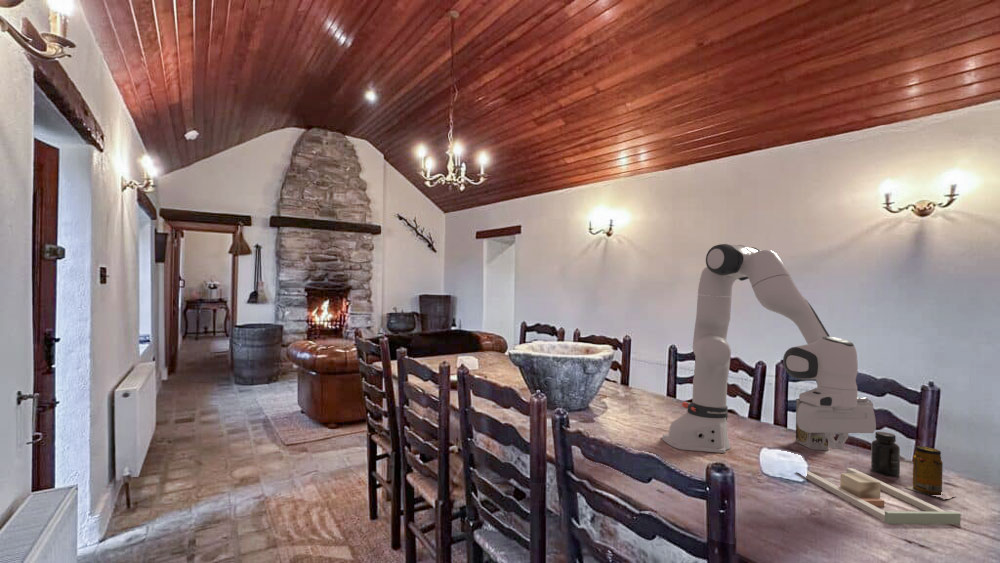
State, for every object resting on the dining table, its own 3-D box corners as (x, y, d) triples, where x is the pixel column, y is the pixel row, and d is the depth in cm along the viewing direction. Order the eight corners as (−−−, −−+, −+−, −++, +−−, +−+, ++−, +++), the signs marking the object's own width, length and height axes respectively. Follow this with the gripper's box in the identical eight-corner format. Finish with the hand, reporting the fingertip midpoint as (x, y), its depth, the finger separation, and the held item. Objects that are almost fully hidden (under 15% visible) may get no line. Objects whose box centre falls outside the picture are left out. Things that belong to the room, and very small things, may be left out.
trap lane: (888, 523, 108) (888, 513, 108) (795, 472, 138) (795, 464, 138) (960, 524, 109) (960, 513, 109) (852, 473, 140) (853, 465, 140)
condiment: (918, 484, 133) (919, 443, 133) (957, 497, 125) (957, 453, 125) (905, 488, 130) (906, 446, 130) (944, 501, 122) (945, 456, 122)
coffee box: (829, 450, 160) (830, 404, 161) (810, 449, 160) (811, 403, 161) (812, 442, 169) (813, 398, 170) (794, 441, 170) (795, 397, 170)
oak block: (859, 501, 120) (859, 482, 120) (840, 491, 126) (840, 473, 126) (880, 501, 120) (880, 482, 121) (860, 491, 126) (860, 473, 127)
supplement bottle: (895, 471, 143) (895, 432, 143) (903, 478, 137) (904, 438, 137) (867, 466, 146) (868, 429, 146) (874, 474, 140) (875, 434, 140)
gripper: (862, 395, 128) (861, 444, 127) (793, 394, 126) (792, 444, 126) (883, 400, 121) (882, 452, 121) (810, 399, 120) (810, 452, 119)
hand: (836, 448), depth 123 cm, fingers closed
